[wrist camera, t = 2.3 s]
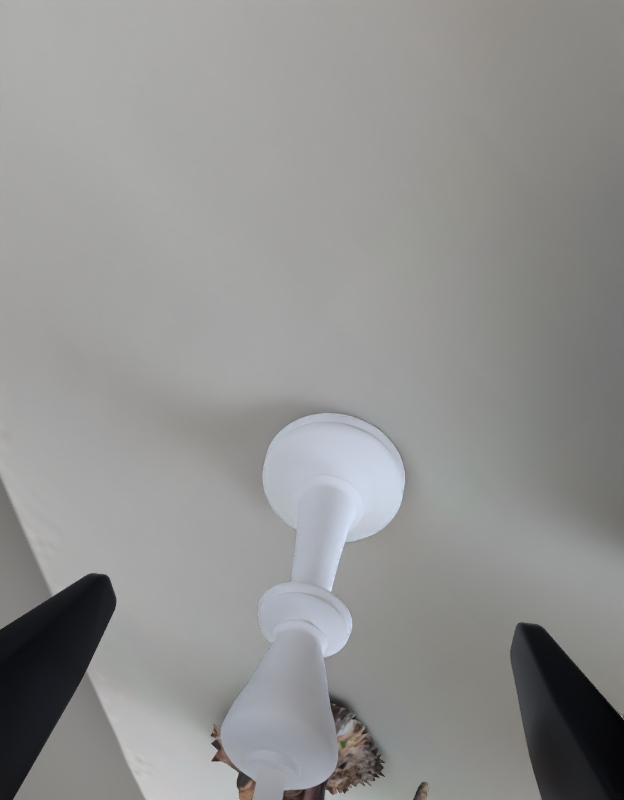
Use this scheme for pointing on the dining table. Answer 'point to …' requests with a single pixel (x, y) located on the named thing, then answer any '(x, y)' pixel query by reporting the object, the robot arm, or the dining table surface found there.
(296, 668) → the chess piece
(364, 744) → the grey mottled stone figure
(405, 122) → the dining table surface
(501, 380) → the dining table surface
